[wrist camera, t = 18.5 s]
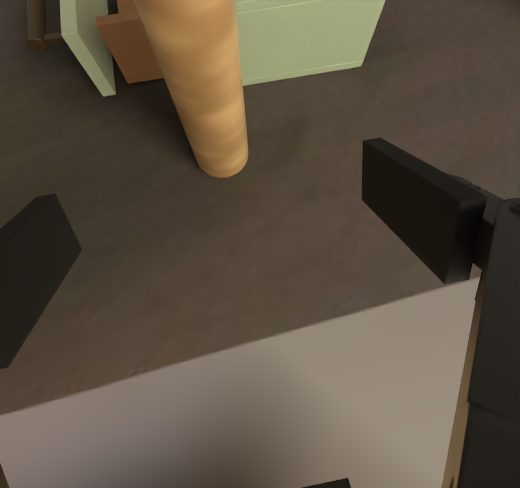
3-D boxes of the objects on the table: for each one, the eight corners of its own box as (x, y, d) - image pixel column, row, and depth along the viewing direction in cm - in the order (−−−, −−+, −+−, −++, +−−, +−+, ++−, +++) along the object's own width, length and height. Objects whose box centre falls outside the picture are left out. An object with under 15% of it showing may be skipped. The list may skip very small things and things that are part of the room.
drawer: (56, 104, 32) (2, 44, 25) (52, 0, 35) (2, -78, 28) (235, 75, 32) (228, 9, 26) (215, -25, 35) (204, -107, 29)
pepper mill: (192, 176, 31) (70, -91, 11) (199, 128, 32) (99, -187, 12) (245, 179, 30) (215, -85, 11) (250, 132, 32) (230, -182, 12)
